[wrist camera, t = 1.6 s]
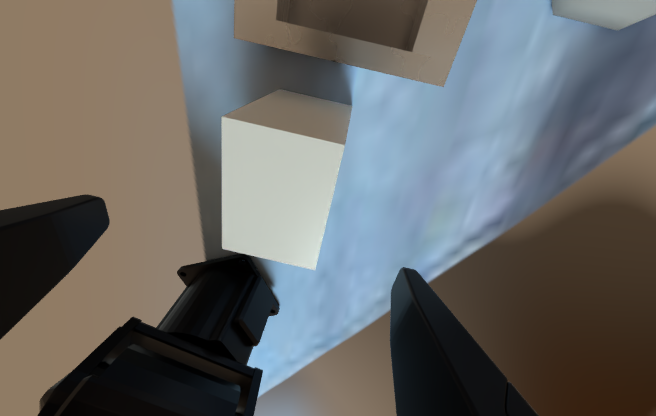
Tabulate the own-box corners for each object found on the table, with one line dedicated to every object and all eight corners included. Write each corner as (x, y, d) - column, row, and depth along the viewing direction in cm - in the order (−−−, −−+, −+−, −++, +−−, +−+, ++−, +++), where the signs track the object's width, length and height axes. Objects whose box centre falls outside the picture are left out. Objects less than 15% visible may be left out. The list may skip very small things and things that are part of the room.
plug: (331, 194, 17) (315, 270, 11) (270, 180, 17) (222, 248, 11) (352, 105, 15) (344, 145, 9) (279, 88, 15) (221, 116, 9)
